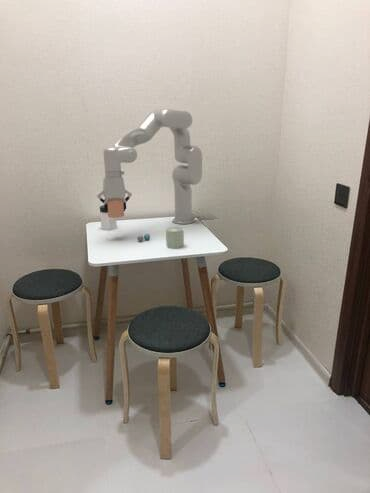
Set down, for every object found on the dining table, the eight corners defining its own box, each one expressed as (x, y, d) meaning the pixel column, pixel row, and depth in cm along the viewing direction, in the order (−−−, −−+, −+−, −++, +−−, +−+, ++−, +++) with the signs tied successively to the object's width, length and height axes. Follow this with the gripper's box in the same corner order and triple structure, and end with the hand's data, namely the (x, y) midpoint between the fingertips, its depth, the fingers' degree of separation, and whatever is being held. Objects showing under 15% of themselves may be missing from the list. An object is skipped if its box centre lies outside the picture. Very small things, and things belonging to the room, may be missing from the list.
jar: (111, 224, 219) (109, 203, 216) (120, 227, 214) (118, 206, 210) (97, 228, 213) (95, 206, 209) (106, 231, 208) (105, 208, 204)
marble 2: (151, 240, 191) (149, 238, 194) (150, 234, 191) (148, 232, 193) (145, 241, 191) (143, 239, 193) (144, 235, 190) (142, 233, 192)
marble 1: (145, 240, 190) (143, 238, 192) (143, 234, 188) (140, 233, 191) (140, 243, 189) (137, 241, 191) (137, 237, 187) (135, 236, 190)
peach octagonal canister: (122, 213, 196) (121, 197, 193) (124, 217, 189) (123, 200, 186) (107, 214, 194) (106, 198, 191) (108, 218, 187) (107, 201, 184)
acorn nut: (180, 242, 188) (180, 226, 185) (185, 247, 181) (184, 230, 178) (165, 244, 186) (164, 227, 183) (169, 249, 179) (168, 232, 176)
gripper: (130, 172, 191) (132, 208, 196) (93, 174, 186) (96, 210, 192) (132, 174, 184) (134, 211, 190) (95, 176, 179) (98, 214, 185)
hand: (115, 210), depth 191 cm, fingers closed on peach octagonal canister, 7 cm apart
